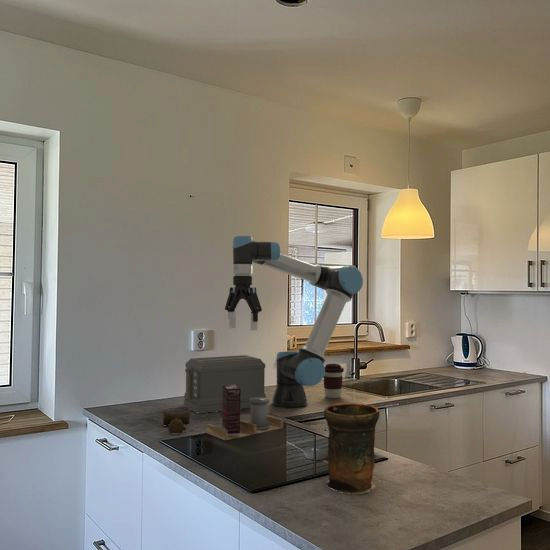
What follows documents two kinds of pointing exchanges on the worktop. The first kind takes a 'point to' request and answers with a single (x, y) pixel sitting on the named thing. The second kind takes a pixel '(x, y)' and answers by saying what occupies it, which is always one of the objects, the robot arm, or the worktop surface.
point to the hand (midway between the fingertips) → (242, 329)
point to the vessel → (351, 447)
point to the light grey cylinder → (259, 412)
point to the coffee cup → (333, 380)
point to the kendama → (176, 420)
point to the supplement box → (231, 409)
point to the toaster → (222, 381)
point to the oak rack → (245, 428)
